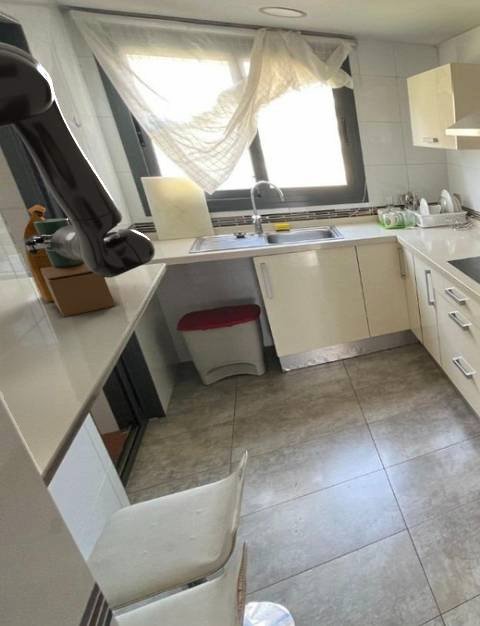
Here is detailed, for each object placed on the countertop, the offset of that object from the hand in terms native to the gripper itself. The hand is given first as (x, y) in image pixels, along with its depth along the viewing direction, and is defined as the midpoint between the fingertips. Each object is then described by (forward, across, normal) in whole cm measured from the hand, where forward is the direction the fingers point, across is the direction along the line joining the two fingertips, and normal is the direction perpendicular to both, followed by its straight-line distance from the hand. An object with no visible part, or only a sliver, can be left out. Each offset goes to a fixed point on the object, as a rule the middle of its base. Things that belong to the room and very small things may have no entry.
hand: (53, 237), depth 105 cm
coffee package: (+12, -2, +16) cm, 20 cm away
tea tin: (-3, 0, +6) cm, 7 cm away
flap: (-5, +1, +7) cm, 9 cm away
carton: (-2, 0, +16) cm, 16 cm away
